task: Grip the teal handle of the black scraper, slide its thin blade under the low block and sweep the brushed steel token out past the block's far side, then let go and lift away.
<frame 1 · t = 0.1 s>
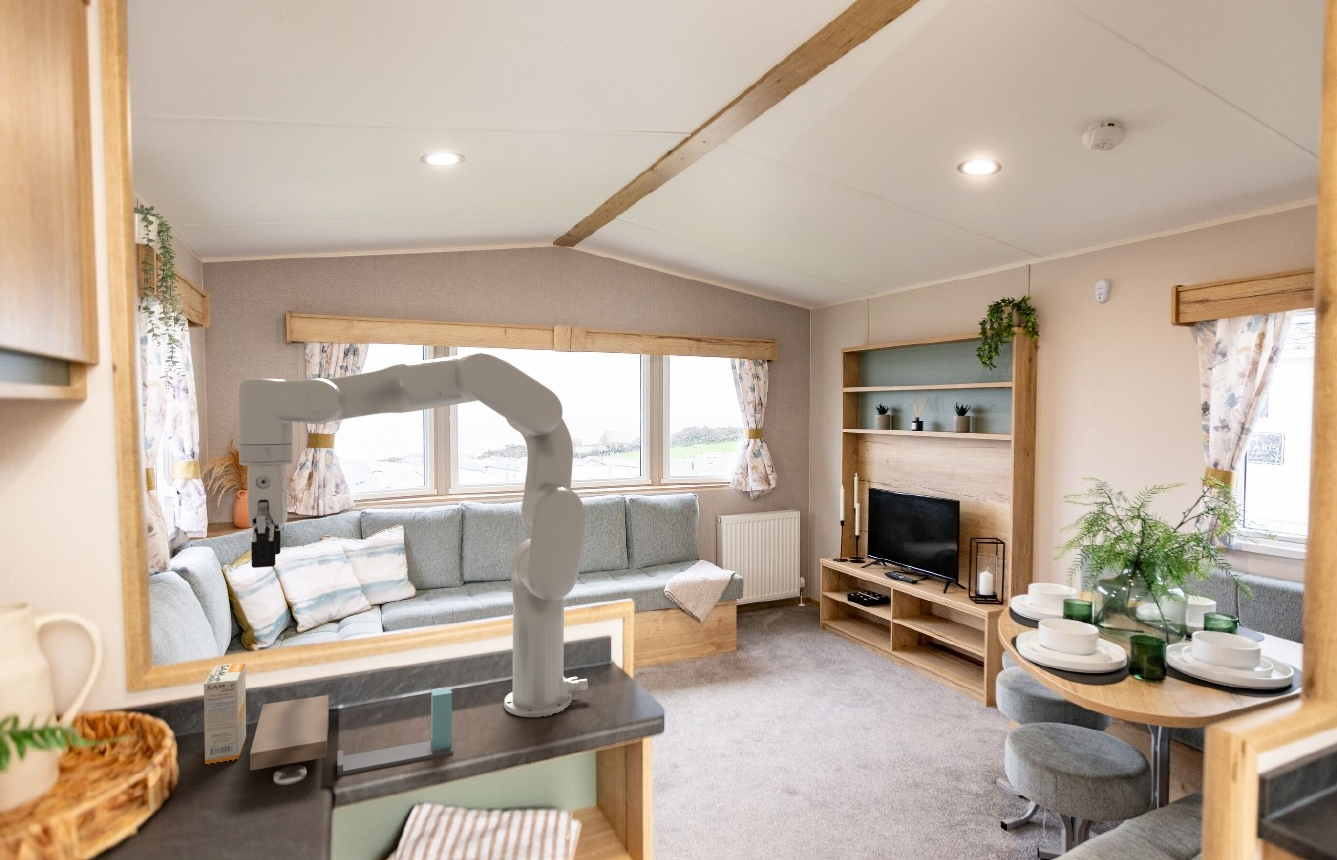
hand: (266, 560, 114), 31 cm above the table, tool pointing down, fingers open, 9 cm apart
steel token: (290, 779, 107), on the table
supplement box: (225, 752, 114), on the table
low block: (293, 756, 113), on the table
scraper: (392, 758, 113), on the table
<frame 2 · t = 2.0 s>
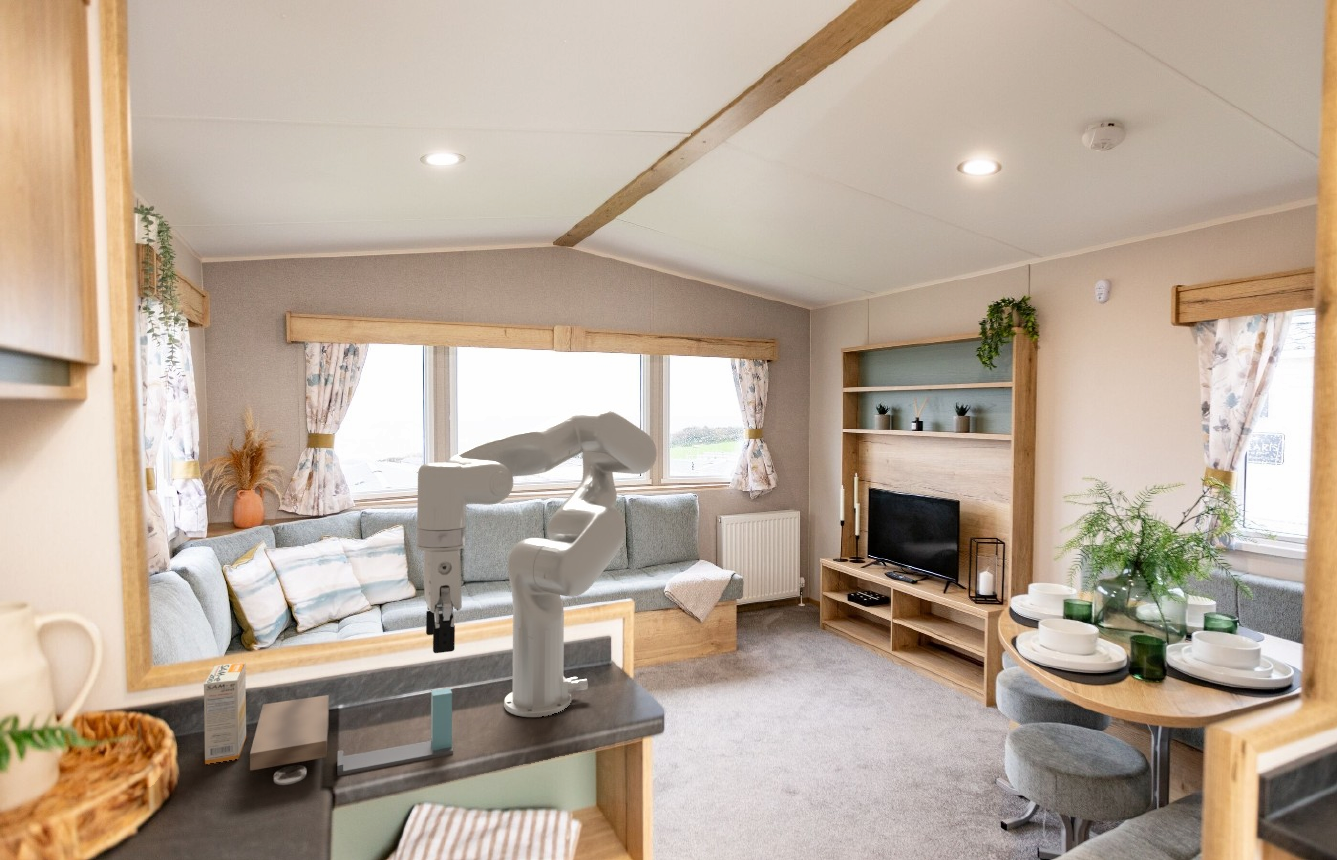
hand: (439, 642, 115), 18 cm above the table, tool pointing down, fingers open, 9 cm apart
nothing on the table moved.
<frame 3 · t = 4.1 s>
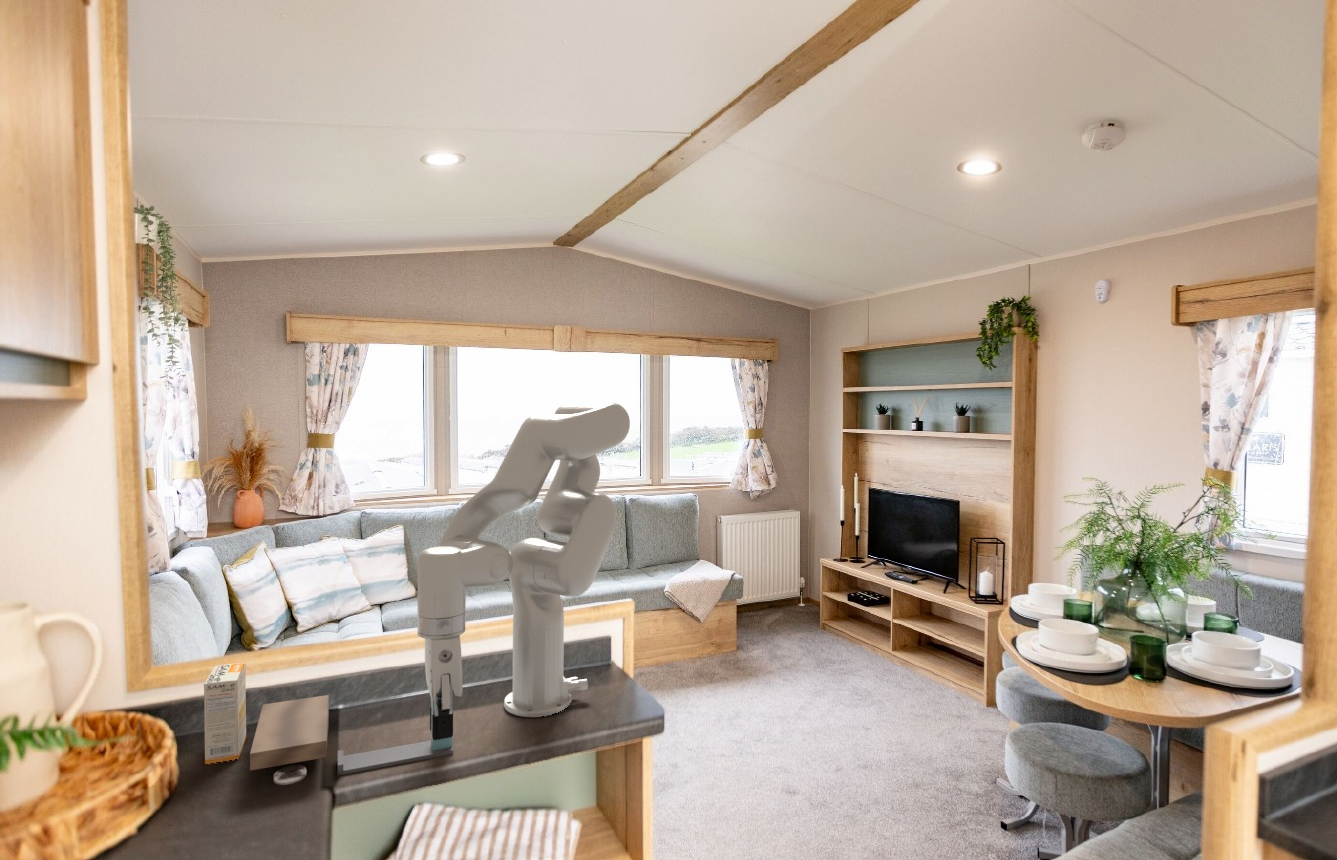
hand: (441, 733, 116), 3 cm above the table, tool pointing down, fingers closed on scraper
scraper: (392, 758, 113), on the table, touching gripper
everything else where it was.
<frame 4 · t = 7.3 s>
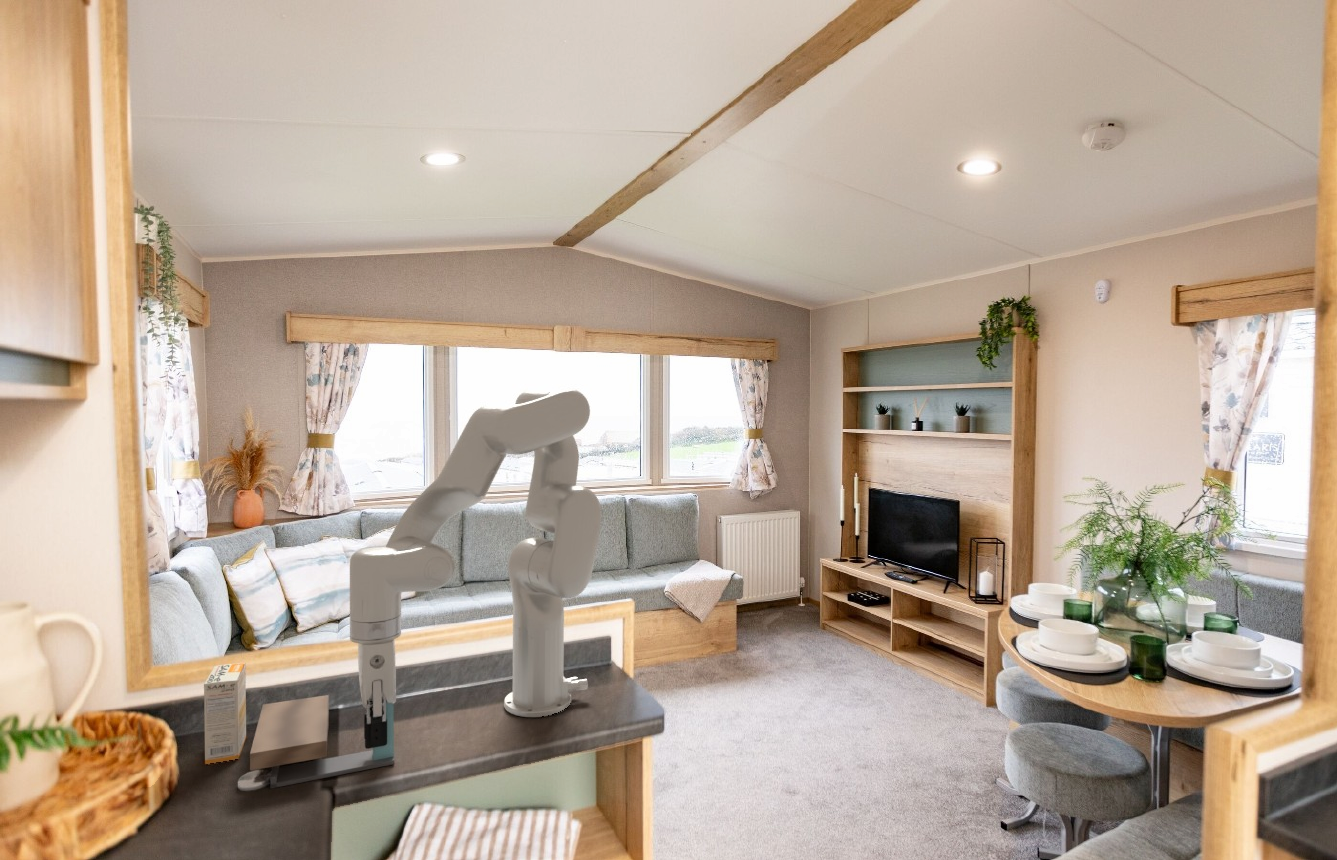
hand: (375, 741, 112), 3 cm above the table, tool pointing down, fingers closed on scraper
steel token: (255, 783, 105), on the table
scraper: (331, 769, 109), on the table, touching gripper
everything else where it was.
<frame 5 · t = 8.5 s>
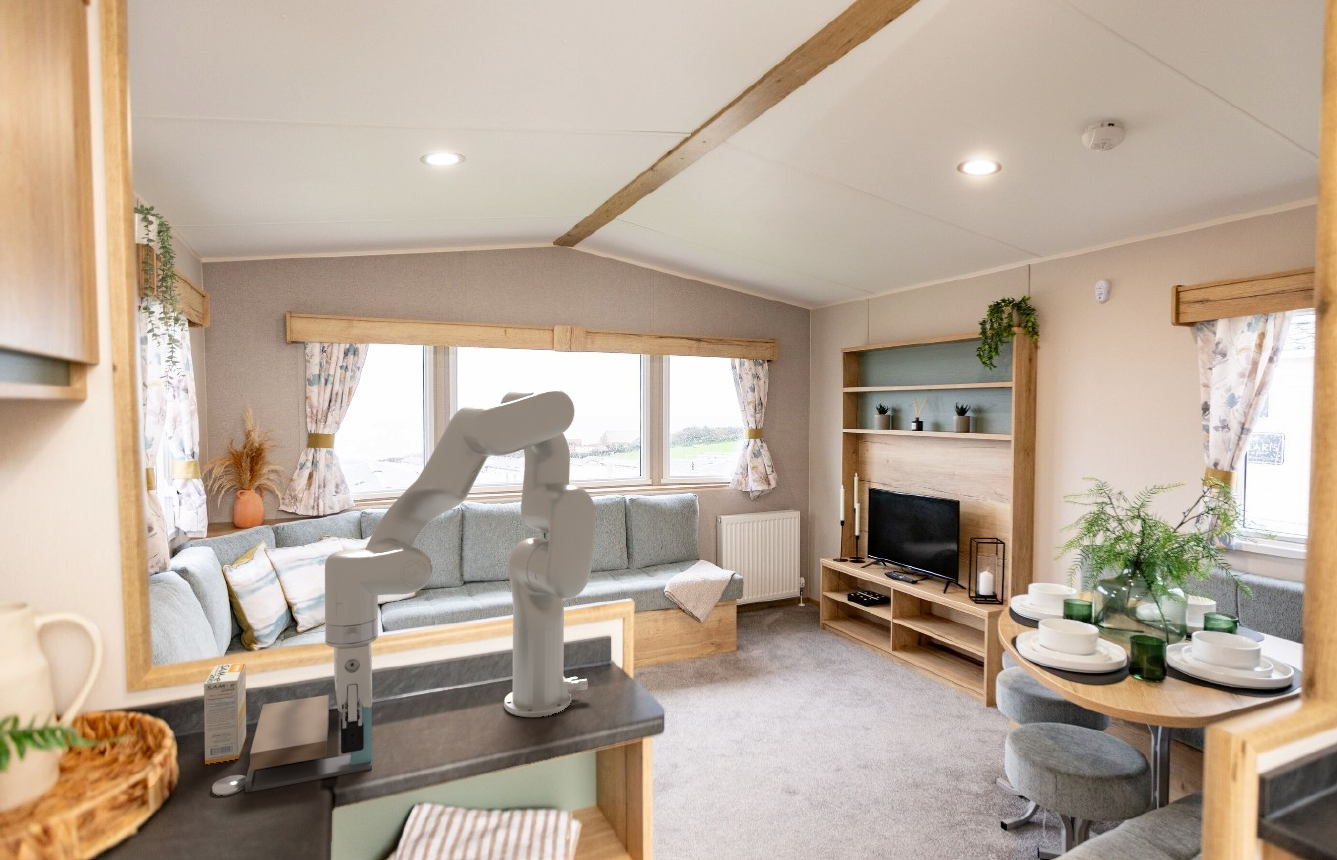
hand: (352, 745, 110), 3 cm above the table, tool pointing down, fingers closed on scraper
steel token: (230, 789, 104), on the table
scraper: (307, 773, 108), on the table, touching gripper
everything else where it was.
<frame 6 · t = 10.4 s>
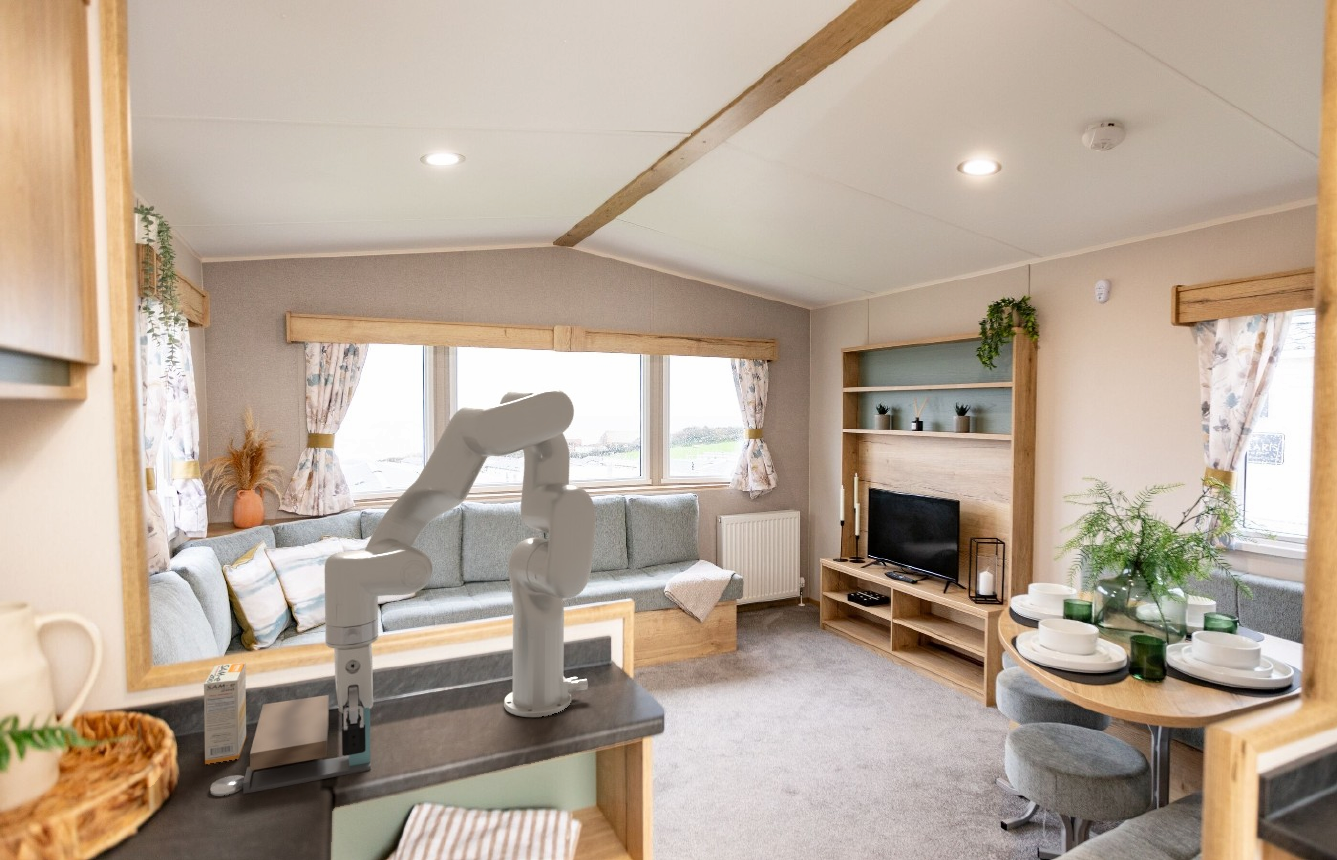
hand: (353, 739, 110), 4 cm above the table, tool pointing down, fingers open, 9 cm apart
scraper: (306, 774, 108), on the table
everything else where it was.
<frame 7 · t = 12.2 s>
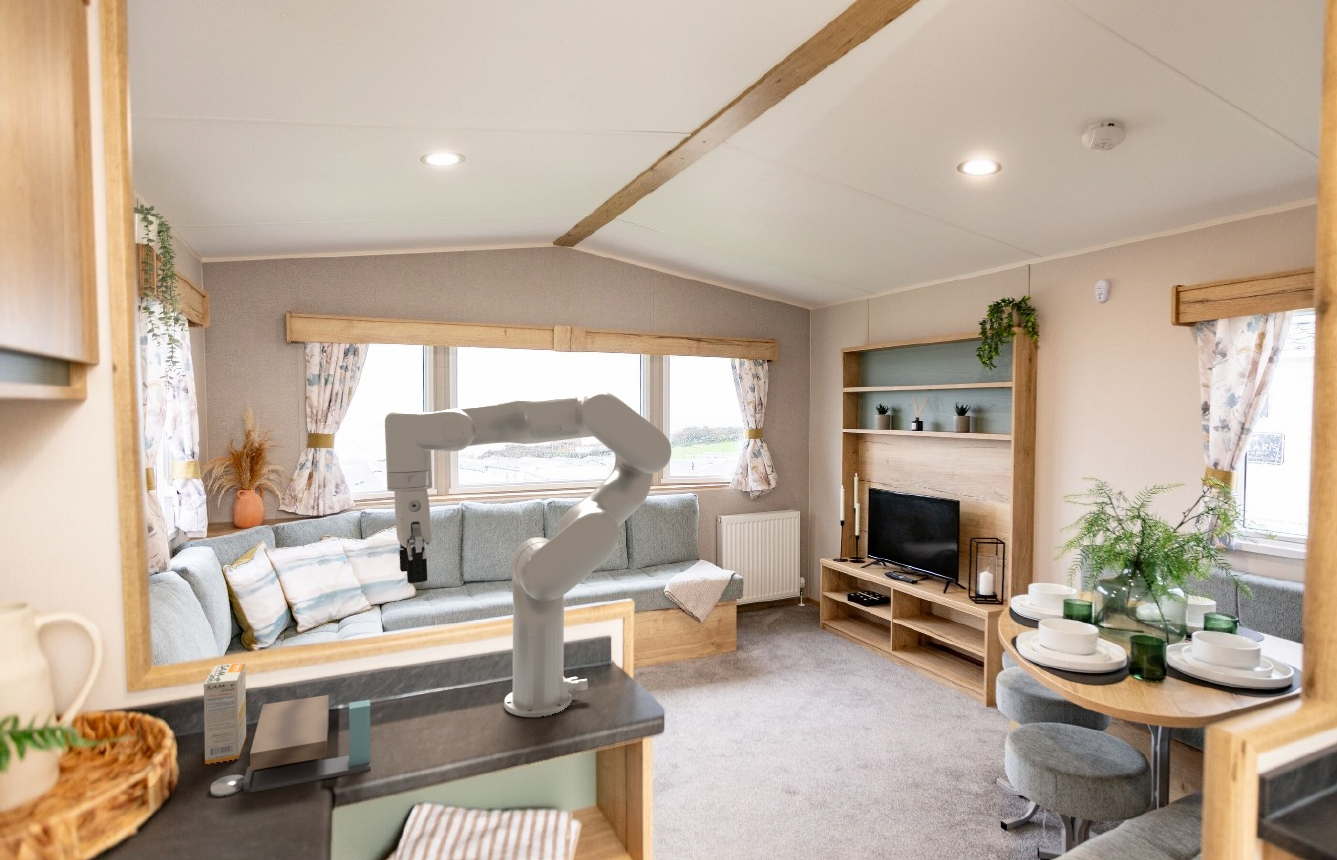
hand: (413, 576, 126), 26 cm above the table, tool pointing down, fingers open, 9 cm apart
nothing on the table moved.
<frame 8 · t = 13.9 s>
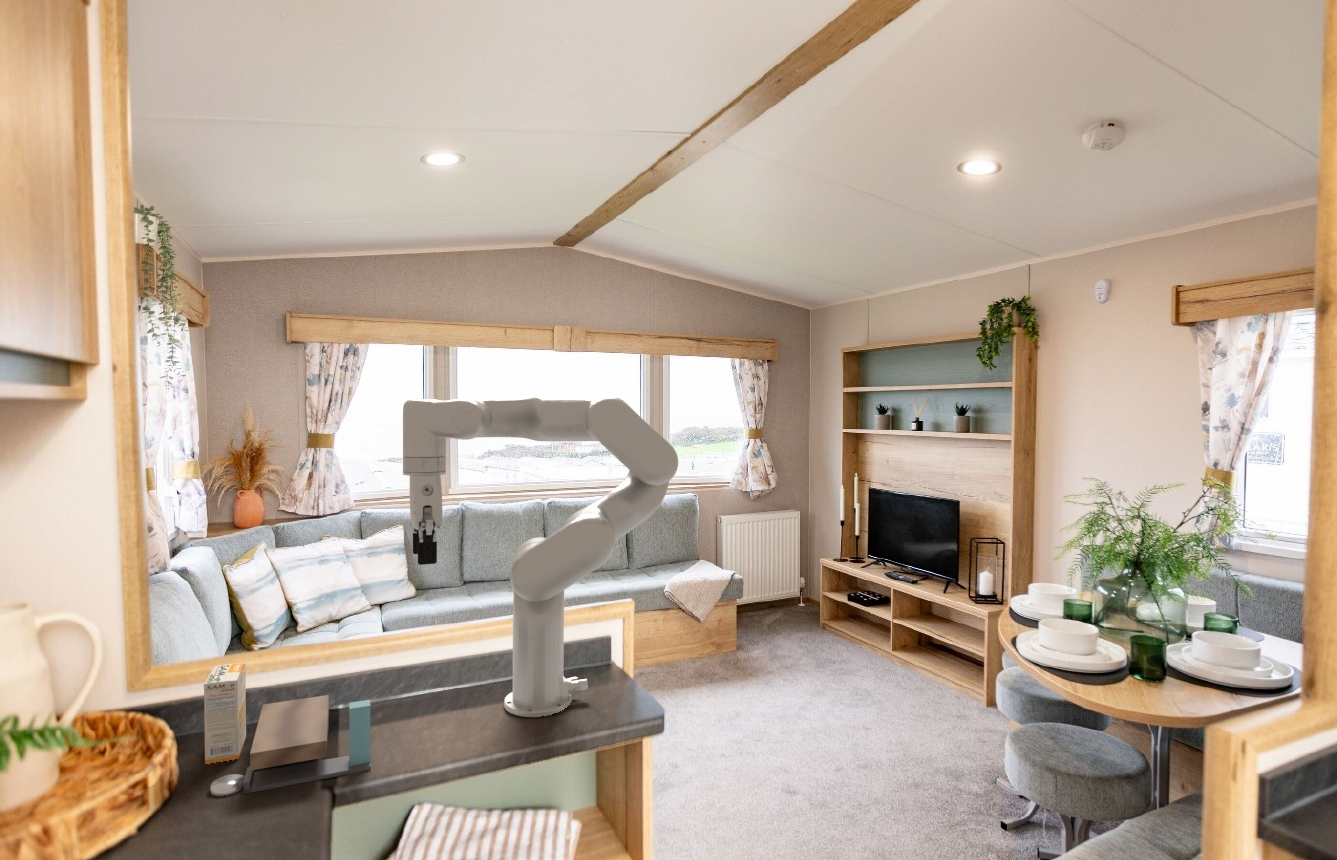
hand: (424, 558, 130), 28 cm above the table, tool pointing down, fingers open, 9 cm apart
nothing on the table moved.
at the end: steel token inside the target area (4.7 cm from its centre), on the table; steel token tilted 3°; the gripper is holding nothing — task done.
